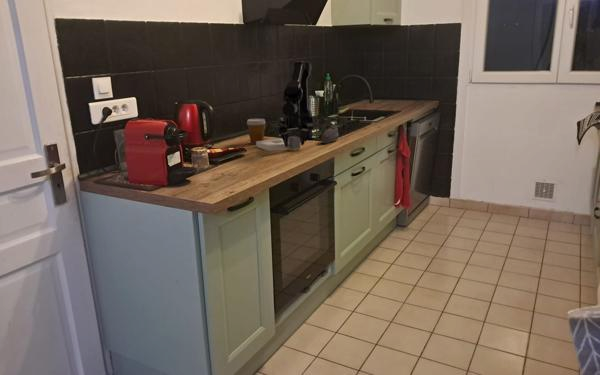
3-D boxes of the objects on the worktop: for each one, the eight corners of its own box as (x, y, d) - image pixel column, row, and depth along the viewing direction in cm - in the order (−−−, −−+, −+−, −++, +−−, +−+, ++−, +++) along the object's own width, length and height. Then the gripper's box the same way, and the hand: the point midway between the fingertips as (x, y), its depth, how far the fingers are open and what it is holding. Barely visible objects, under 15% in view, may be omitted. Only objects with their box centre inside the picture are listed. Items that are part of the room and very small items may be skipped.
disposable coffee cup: (269, 141, 252) (268, 118, 249) (262, 145, 243) (261, 121, 240) (251, 141, 255) (250, 118, 251) (244, 144, 246) (243, 121, 243)
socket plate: (284, 142, 249) (284, 136, 248) (298, 147, 238) (298, 140, 237) (256, 146, 241) (256, 139, 240) (270, 151, 230) (269, 144, 229)
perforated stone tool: (326, 145, 241) (326, 131, 239) (317, 144, 244) (317, 130, 242) (341, 140, 253) (341, 127, 251) (332, 139, 256) (332, 126, 254)
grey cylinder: (295, 148, 235) (295, 136, 233) (300, 149, 232) (300, 137, 230) (288, 149, 233) (288, 137, 231) (293, 151, 230) (292, 138, 228)
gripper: (301, 109, 239) (302, 141, 243) (267, 113, 229) (268, 145, 234) (314, 112, 230) (314, 144, 234) (279, 115, 220) (280, 149, 224)
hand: (294, 146), depth 232 cm, fingers open, 8 cm apart
